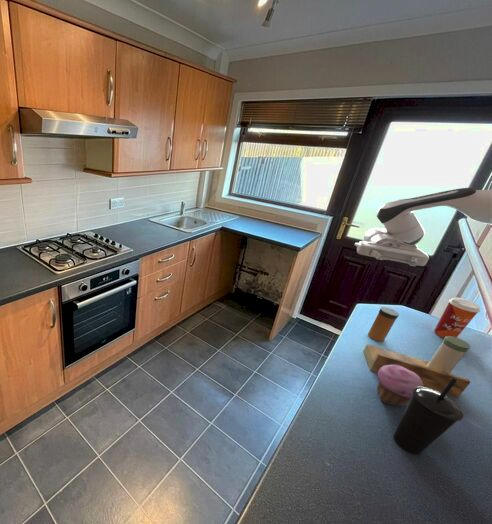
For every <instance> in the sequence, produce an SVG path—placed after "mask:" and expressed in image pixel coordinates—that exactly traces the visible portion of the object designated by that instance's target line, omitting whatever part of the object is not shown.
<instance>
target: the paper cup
mask: <svg viewBox="0 0 492 524" xmlns="http://www.w3.org/2000/svg"><path fill="white" fill-rule="evenodd" d="M480 312H481V306H480V305H479V304H478V303H476V302H474V301H472V300H469V299H466V298H463V297H455V296H454V297H451V298H450V299H448V303H447V305H446V307H445V309H444V311H443V313H442V315H441V317H440V319H439V320H438V322H437V324H436V326H435V328H434V330H433V333H435V335H437V336H439V337H440V338H443V339H444V338H445V337H446V336H453V337H456V338H459V335H460V334H461V333H462V332H463V331H464V330H465V328H467V326H468V325H469V323H471V321H472V320H473V319H474V318H475V316H476V315H477V314H478V313H480Z"/></svg>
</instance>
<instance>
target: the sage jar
mask: <svg viewBox="0 0 492 524" xmlns="http://www.w3.org/2000/svg"><path fill="white" fill-rule="evenodd" d="M470 349H471V345H470V344H469V343H468V342H467V341H465V340H463V339H462V338H459V337H457V338H456V337H453V336H446V337H445V338H443V340H442V342H441V343H440V345H439V347H438V348H437V349H436V351H435V353H434V354H433V355H432V357H431V358H430V360H429V361H428V362H429V363H428V364H427V366H426V367H428V368H431V369H435V370H438V371H441V372H445V373H448V374H450V373H451V372H452V373H453V370H454V369H455V368H456V367H457V365H458V364H459V363H460V361H461V360H462V359H463V357H464V356H465V354H466V353H468V352H469V350H470Z"/></svg>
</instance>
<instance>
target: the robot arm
mask: <svg viewBox="0 0 492 524" xmlns="http://www.w3.org/2000/svg"><path fill="white" fill-rule="evenodd" d="M436 207H446V208H447V207H448V208H451V209H454V210H456V211H458V212H460V213H462V214H463V215H464V216H465V217H467V218H469V219H470V220H472V221H475V222H478V223H481V224H486V225H492V188H491V189H475V188H472V187H462V188H454V189H450V190H449V189H448V190H445V191H439V192H436V193H429V194H425V195H421V196H420V195H419V196H415V197H410V198H402V199H396V200H395V199H394V200H391V201H388V202H385V203H383V204H382V205H381V206H380V207H379V208H378V210H377V213H376V218H377V220H379V222H380V223H381V224H382V225H383V227H384V228H379V227H373V228H370V229H368V231H366V232H365V234H364V237H363V240H360V241H359V242H355V243H354V246H355V247H356V253H357V254H358V255H361V256H367V257H370V258H371V257H372V258H375V259H376V260H380V261H393V262H398V263H403V264H408V265H409V266H412V267H416V266H420V267H425V266H426V265H427V263H428V261H429V259H430V257H429V255H428V253H426V252H424V251H423V250H422V249H420V248H418V245H417V244H418V243H419V242H421V241H422V240H423V238H424V237H425V235H426V231H425V229H424V227H423V225H422V224H421V222H420V221H419V219H418V217H417V215H416V213H414V212H415V211H421V210H426V209H431V208H436Z"/></svg>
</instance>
